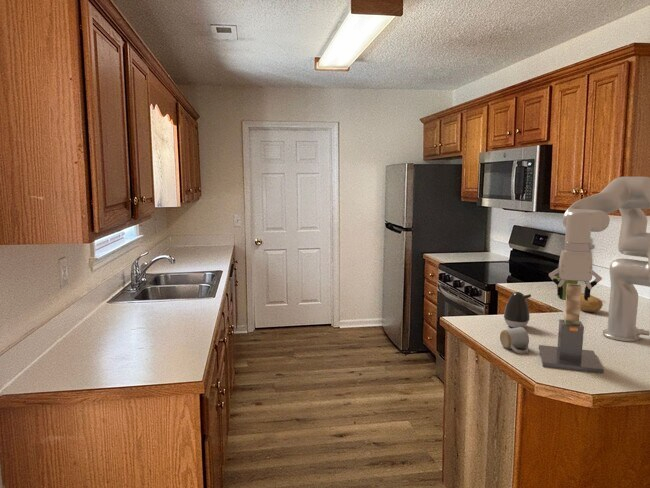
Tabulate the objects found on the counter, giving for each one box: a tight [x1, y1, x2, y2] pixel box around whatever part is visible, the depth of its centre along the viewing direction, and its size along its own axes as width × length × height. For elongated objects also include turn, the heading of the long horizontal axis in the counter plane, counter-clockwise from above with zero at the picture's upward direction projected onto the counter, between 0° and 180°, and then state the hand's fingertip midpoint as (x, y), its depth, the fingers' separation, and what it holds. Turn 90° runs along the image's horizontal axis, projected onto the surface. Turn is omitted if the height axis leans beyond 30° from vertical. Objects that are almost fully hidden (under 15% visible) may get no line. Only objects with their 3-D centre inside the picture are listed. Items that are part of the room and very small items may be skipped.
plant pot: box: [554, 275, 579, 300], centre depth 254 cm, size 12×12×11 cm
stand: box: [538, 319, 604, 374], centre depth 167 cm, size 18×18×14 cm
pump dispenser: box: [503, 291, 532, 329], centre depth 205 cm, size 10×10×15 cm
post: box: [563, 283, 582, 326], centre depth 166 cm, size 4×4×19 cm
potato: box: [580, 292, 604, 313], centre depth 229 cm, size 10×14×8 cm
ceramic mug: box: [499, 327, 530, 355], centre depth 179 cm, size 11×8×8 cm
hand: (573, 298), depth 165 cm, fingers open, 7 cm apart
